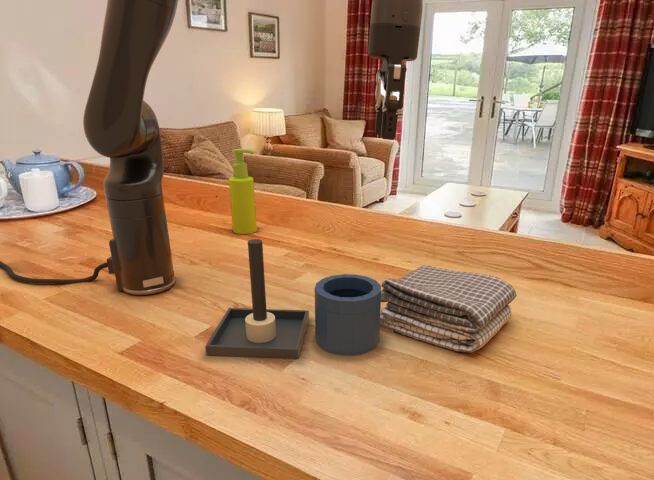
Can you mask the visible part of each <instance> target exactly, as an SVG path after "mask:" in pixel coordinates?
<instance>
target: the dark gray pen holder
mask: <svg viewBox="0 0 654 480" xmlns="http://www.w3.org/2000/svg"><path fill="white" fill-rule="evenodd" d="M381 291H382V284H380V282H378V281H377V280H376V279H374V278H371V277H369V276H366V275H361V274H353V273H352V274H349V273H348V274H347V273H344V274H343V273H342V274H333V275H330V276H326V277H323V278H321V279H320V280H318V281H317V282H316V283H315V286H314V327H315V329H314V331H315V343H316V344H317V346H318V347H319V348H320V349H321V350H323V351H325V352H326V353H328V354H331V355H334V356H335V355H336V356H341V357H342V356H343V357H353V356H354V357H355V356H360V355H364V354H367V353H370V352H371V351H373V350H374V349H376V347H378V345H379V343H380V329H381V326H380V311H381V307H382V305H381V304H382V302H381Z"/></svg>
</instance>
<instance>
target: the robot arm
mask: <svg viewBox="0 0 654 480" xmlns="http://www.w3.org/2000/svg"><path fill="white" fill-rule="evenodd" d="M178 3H179V0H107V2H106V9H105V15H104V21H103V28H102V34H101V41H100V48H99V53H98V58H97V63H96V67H95V72H94V75H93V79H92V82H91V87H90V89H89V93H88V97H87V101H86V104H85V108H84V112H83V119H82V120H83V121H82V124H83V125H82V126H83V131H84V135H85V138H86V140H87V142H88V144H89V145H90V147H91V148H92V149H93V150H94V151H95V152H96V153H97V154H99V155H101V156H102V157H105V158H109V167H108V172H107V174H106V176H105V177H104V180H103V192H104V196H105V202H106V208H107V212H108V219H109V223H110V227H111V233H112V238H111V239H110V240H109V241H108V246H109V250H110V256H109V257H108V258H107V259H106V262H104V263H101V264H98V265H97V266H96V267H95V268H94V269H93V274H92V275H90V276H87V277H84V278H76V279H74V278H73V279H63V278H61V279H60V278H34V277H26V276H23V275H20V274H16V273H15V272H14V270H13V269H12V268H11V267H10V266H9V265H8V264H6V263H5V262H3V261H1V260H0V267H1V268H2V269H4V270H5V271H6V272H7V274H8V275H9V277H11V278H12V279H14V280H16V281H20V282H23V283H29V284H30V283H31V284H44V285H45V284H49V285H50V284H54V285H70V284H81V283H89V282H92V281H95V280H96V279H98V277H99V275H100V271H102V270H104V269H106V268H107V269H108V274H109V275H114V278H115V283H116V287H117V291H118V292H124V293H126V294H128V295H132V296H133V295H134V296H149V295H154V294H155V295H156V294H159V293H162V292H165V291H167V290H170V289H171V288H173V287H174V286H176V285H175V284H176V282H177V280H176V276H175V270H174V263H173V256H172V249H171V241H170V234H169V227H168V219H167V214H166V207H165V200H164V194H163V193H164V192H163V191H164V190H163V179H164V172H165V170H164V157H163V147H162V146H163V145H162V136H161V130H160V124H159V121H158V118H157V115H156V113H155V111H154V110H153V108H152V107H151V106H150V104H148V102H146V101H145V100H144V97H145V91H146V87H147V81H148V77H149V74H150V71H151V69H152V66H153V64H154V63H155V60H156V59H157V57H158V55H159V53H160V52H161V49H162V48H163V46H164V44H165V42H166V39H167V37H168V36H169V33H170V31H171V29H172V26H173V23H174V21H175V17H176V13H177V8H178ZM423 4H424V3H423V0H372V3H371V11H370V24H369V34H368V35H369V36H368V45H367V46H368V47H367V55H368V57H370V58H371V59H374V60H380V61H381V62H382V63H381V68H380V67H379V68H378V70H377V71H376V74H375V75H376V76H375V83H376V85H375V91H374V99H375V100H374V106H375V107H374V109H375V111H376V113H375V126H374V134H375V135H377V136H380V138H381V139H382V140H389V141H390V140H391V141H393V140H395V139H396V136H397V129H398V128H397V127H398V119H399V114H400V112H401V110H402V109H403V107H404V94H405V83H406V73H407V71H408V68H407V65H406V64H403V62H414V61H416V60H417V59H418V53H419V51H418V50H419V44H420V35H421V27H422V18H423V7H424V5H423Z"/></svg>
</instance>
